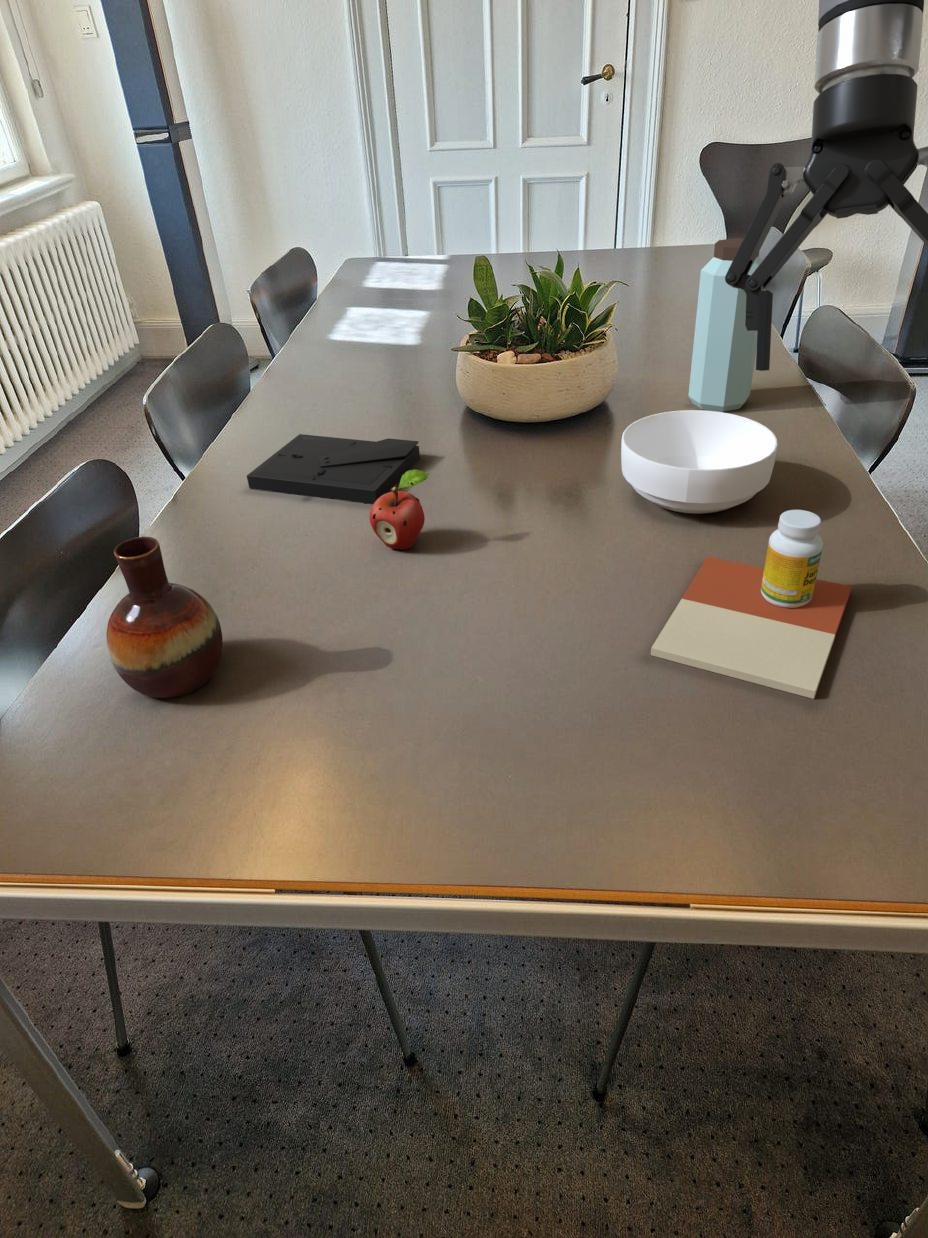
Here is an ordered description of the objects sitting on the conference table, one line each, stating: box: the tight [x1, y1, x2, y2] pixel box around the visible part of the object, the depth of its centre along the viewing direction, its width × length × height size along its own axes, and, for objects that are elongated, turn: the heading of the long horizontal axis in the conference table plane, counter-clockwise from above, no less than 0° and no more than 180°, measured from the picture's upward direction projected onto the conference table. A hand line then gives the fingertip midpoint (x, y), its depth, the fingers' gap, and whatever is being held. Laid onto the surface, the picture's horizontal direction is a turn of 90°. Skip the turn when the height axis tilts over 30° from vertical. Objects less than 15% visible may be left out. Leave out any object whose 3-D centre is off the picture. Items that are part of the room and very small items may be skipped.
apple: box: [368, 468, 430, 550], centre depth 106 cm, size 8×7×10 cm
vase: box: [105, 536, 224, 699], centre depth 84 cm, size 11×11×15 cm
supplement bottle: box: [761, 509, 824, 608], centre depth 90 cm, size 5×5×10 cm
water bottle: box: [688, 237, 766, 413], centre depth 135 cm, size 10×10×25 cm
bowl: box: [620, 409, 779, 515], centre depth 113 cm, size 20×20×8 cm
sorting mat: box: [650, 555, 853, 700], centre depth 90 cm, size 16×20×1 cm
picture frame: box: [246, 433, 421, 505], centre depth 127 cm, size 16×3×21 cm
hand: (846, 366), depth 72 cm, fingers open, 13 cm apart
